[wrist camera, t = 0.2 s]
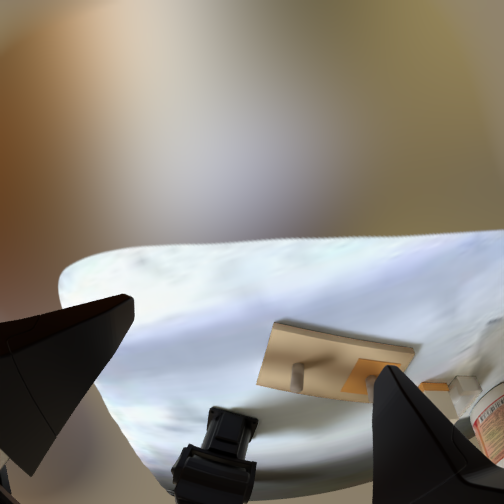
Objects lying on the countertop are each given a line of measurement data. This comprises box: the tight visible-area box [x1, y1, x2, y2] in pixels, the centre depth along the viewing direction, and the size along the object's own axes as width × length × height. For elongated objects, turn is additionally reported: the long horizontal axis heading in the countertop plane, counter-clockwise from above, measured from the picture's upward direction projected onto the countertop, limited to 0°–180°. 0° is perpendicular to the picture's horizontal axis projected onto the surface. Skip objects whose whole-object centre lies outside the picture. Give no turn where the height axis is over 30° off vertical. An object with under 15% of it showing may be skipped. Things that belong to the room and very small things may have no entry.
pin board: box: [256, 322, 415, 403], centre depth 24 cm, size 8×15×4 cm, turn 80°
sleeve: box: [418, 383, 459, 425], centre depth 23 cm, size 4×4×6 cm
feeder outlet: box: [448, 376, 483, 418], centre depth 24 cm, size 7×4×3 cm, turn 169°
